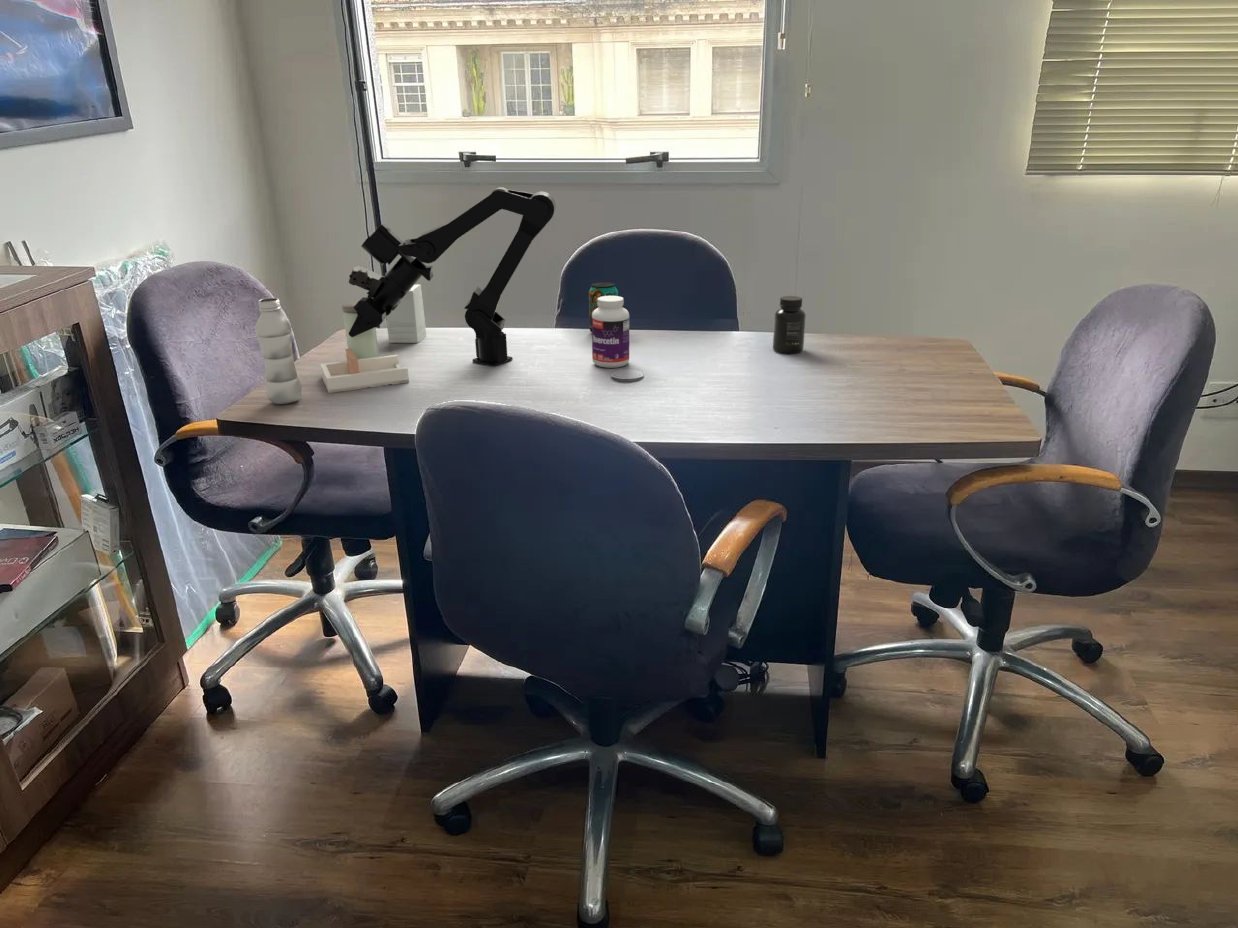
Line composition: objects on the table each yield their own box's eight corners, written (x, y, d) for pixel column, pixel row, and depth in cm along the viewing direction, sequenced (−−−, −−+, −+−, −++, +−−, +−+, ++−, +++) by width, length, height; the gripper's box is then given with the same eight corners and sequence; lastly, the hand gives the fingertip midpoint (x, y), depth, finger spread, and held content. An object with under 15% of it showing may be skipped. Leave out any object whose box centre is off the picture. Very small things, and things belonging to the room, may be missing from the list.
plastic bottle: (310, 398, 174) (295, 297, 166) (288, 409, 168) (271, 305, 161) (283, 395, 176) (266, 295, 168) (260, 406, 170) (241, 303, 163)
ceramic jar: (386, 361, 197) (379, 303, 192) (362, 369, 192) (354, 309, 187) (367, 357, 200) (359, 300, 195) (343, 364, 196) (335, 305, 190)
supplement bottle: (807, 349, 203) (811, 296, 198) (796, 356, 197) (800, 302, 193) (779, 344, 206) (782, 293, 201) (767, 352, 201) (770, 299, 196)
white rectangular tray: (398, 368, 192) (397, 354, 191) (409, 382, 183) (407, 368, 182) (322, 377, 187) (320, 364, 185) (328, 393, 177) (326, 378, 176)
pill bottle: (586, 367, 192) (584, 301, 186) (601, 357, 198) (600, 293, 193) (621, 371, 189) (620, 304, 183) (635, 360, 196) (634, 295, 190)
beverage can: (587, 336, 215) (585, 286, 210) (592, 329, 221) (591, 280, 217) (615, 337, 214) (615, 287, 209) (620, 329, 220) (620, 281, 215)
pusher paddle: (354, 371, 187) (351, 348, 186) (360, 382, 180) (357, 358, 178) (348, 372, 187) (345, 349, 185) (354, 383, 180) (351, 359, 178)
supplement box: (427, 335, 217) (422, 284, 212) (418, 343, 211) (412, 290, 206) (398, 335, 218) (392, 283, 213) (387, 343, 211) (381, 290, 206)
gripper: (379, 246, 195) (336, 296, 200) (358, 261, 178) (311, 316, 183) (419, 281, 199) (375, 330, 203) (401, 300, 181) (354, 353, 186)
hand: (354, 331), depth 193 cm, fingers closed on ceramic jar, 6 cm apart
